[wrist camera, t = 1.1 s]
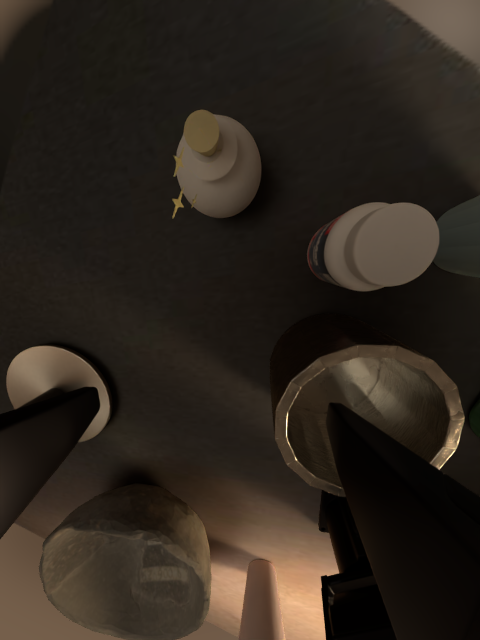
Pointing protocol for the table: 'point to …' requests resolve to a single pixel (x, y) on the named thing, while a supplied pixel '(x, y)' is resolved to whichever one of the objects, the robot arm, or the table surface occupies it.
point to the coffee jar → (475, 418)
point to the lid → (56, 380)
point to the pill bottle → (374, 246)
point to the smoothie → (261, 604)
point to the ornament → (217, 165)
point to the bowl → (130, 565)
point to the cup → (460, 239)
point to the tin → (357, 394)
